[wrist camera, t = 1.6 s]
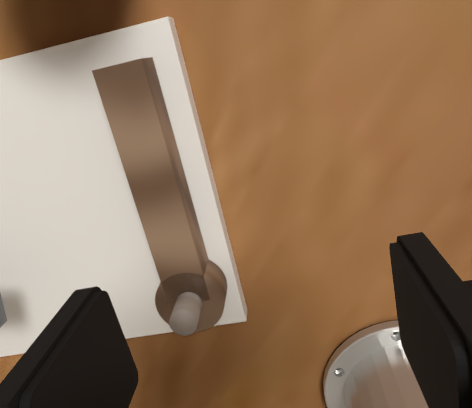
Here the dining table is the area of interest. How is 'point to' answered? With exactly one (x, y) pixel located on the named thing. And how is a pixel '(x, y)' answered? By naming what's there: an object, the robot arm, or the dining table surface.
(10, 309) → the pintle board
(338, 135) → the dining table surface
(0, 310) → the block
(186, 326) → the walnut link
